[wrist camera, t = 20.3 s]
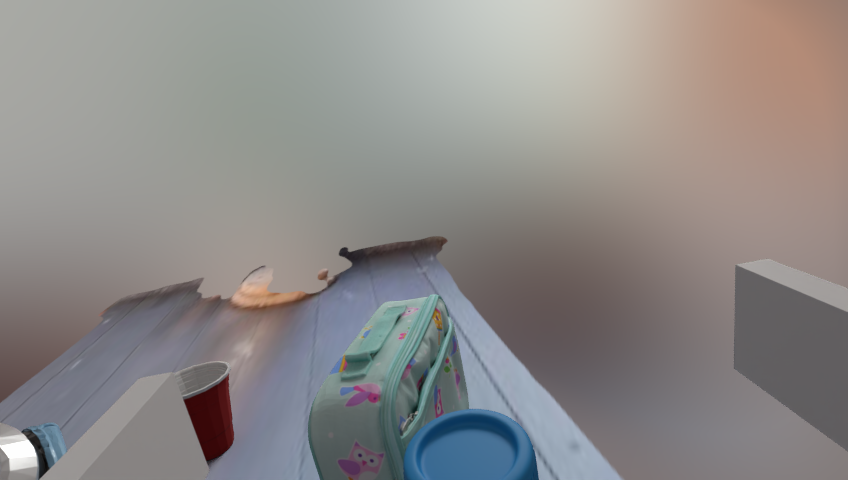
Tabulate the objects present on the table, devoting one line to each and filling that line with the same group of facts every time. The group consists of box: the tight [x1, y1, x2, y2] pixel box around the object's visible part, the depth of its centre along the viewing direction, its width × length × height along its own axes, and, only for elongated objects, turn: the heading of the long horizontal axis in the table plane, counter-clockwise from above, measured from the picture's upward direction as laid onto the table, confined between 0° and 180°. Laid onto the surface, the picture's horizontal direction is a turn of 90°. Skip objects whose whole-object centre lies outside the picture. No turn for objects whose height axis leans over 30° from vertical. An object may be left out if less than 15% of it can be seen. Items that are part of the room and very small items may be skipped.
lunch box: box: [308, 294, 469, 480], centre depth 50 cm, size 27×10×21 cm, turn 168°
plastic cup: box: [174, 361, 234, 461], centre depth 65 cm, size 11×11×12 cm
